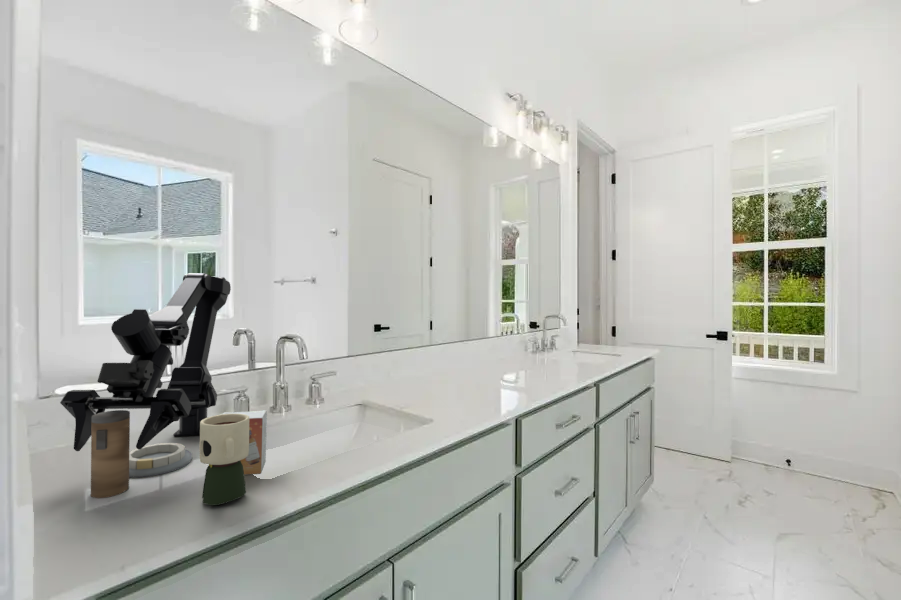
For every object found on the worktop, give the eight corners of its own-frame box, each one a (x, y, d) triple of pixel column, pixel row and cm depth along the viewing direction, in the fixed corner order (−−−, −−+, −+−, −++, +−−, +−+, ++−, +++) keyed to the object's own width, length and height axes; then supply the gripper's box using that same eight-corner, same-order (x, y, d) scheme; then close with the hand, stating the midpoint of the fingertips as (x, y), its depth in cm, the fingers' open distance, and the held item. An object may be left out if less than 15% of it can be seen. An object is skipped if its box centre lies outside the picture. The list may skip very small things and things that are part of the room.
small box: (213, 478, 78) (214, 419, 77) (221, 466, 83) (222, 411, 83) (262, 474, 80) (262, 417, 80) (266, 462, 85) (267, 409, 85)
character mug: (195, 492, 72) (196, 414, 72) (242, 482, 76) (243, 408, 76) (202, 520, 63) (203, 431, 63) (254, 507, 67) (256, 424, 67)
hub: (134, 455, 88) (134, 442, 88) (199, 451, 90) (200, 439, 90) (102, 480, 76) (102, 465, 76) (178, 474, 79) (178, 460, 79)
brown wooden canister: (100, 485, 74) (101, 410, 74) (134, 483, 75) (135, 409, 75) (81, 501, 68) (82, 420, 68) (118, 498, 69) (119, 418, 69)
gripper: (69, 343, 75) (13, 426, 64) (185, 344, 78) (151, 423, 67) (98, 380, 83) (53, 459, 72) (203, 379, 85) (175, 455, 74)
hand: (107, 449), depth 71 cm, fingers open, 9 cm apart
